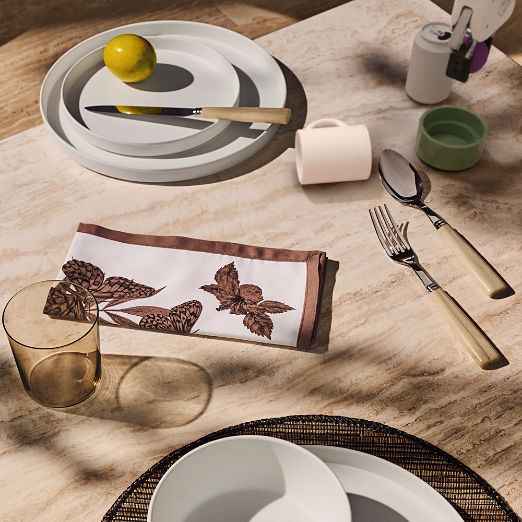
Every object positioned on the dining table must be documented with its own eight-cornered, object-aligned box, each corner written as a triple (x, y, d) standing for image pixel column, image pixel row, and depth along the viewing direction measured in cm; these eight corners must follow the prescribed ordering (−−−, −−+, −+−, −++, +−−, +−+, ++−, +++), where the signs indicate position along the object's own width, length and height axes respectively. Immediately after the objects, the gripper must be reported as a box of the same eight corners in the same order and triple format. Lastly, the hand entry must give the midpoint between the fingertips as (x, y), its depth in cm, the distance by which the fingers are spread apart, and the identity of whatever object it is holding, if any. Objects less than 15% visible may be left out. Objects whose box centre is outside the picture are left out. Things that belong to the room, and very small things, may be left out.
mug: (368, 190, 101) (374, 148, 95) (301, 195, 100) (303, 154, 94) (352, 138, 109) (357, 97, 103) (290, 143, 108) (292, 101, 102)
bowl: (468, 128, 110) (475, 102, 106) (489, 170, 103) (497, 144, 100) (406, 133, 109) (411, 107, 105) (423, 176, 103) (429, 150, 99)
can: (432, 112, 113) (447, 48, 104) (395, 94, 116) (406, 31, 107) (457, 92, 116) (473, 28, 107) (420, 75, 120) (432, 12, 110)
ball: (476, 59, 97) (485, 27, 94) (488, 79, 94) (497, 47, 90) (442, 61, 97) (450, 30, 93) (453, 82, 94) (461, 50, 90)
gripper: (497, -26, 76) (461, 108, 90) (558, -78, 84) (516, 52, 98) (437, -45, 79) (411, 88, 93) (502, -94, 87) (469, 34, 101)
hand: (466, 68), depth 95 cm, fingers closed on ball, 4 cm apart
